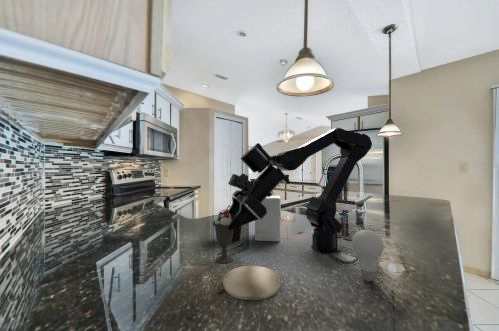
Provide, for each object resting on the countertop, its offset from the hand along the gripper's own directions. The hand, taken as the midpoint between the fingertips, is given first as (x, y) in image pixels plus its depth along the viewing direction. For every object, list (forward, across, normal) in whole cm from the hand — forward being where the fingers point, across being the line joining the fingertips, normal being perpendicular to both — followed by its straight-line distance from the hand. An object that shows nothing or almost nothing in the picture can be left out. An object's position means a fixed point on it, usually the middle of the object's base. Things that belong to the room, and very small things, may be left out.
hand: (226, 224), depth 59 cm
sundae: (+7, 0, +6) cm, 10 cm away
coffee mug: (+4, -19, +10) cm, 22 cm away
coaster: (+4, +14, +9) cm, 17 cm away
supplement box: (-6, -16, +19) cm, 26 cm away
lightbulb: (-14, +19, +27) cm, 36 cm away
